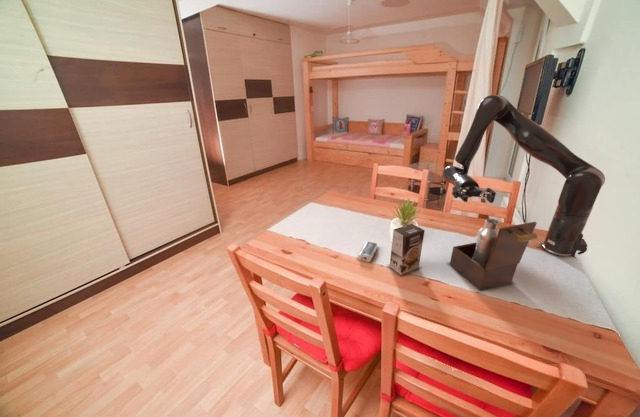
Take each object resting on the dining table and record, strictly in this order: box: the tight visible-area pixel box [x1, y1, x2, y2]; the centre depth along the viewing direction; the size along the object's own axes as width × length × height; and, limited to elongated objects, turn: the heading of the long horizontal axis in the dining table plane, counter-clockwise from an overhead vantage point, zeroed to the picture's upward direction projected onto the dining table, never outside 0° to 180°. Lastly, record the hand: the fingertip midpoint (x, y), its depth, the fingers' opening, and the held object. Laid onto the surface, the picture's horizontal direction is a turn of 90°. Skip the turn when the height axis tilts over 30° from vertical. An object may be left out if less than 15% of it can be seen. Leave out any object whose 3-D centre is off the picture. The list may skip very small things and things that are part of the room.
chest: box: [449, 242, 518, 291], centre depth 92 cm, size 15×13×8 cm
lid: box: [485, 221, 538, 270], centre depth 78 cm, size 15×13×5 cm
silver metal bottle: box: [472, 218, 500, 268], centre depth 89 cm, size 6×7×20 cm
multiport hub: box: [358, 241, 378, 263], centre depth 106 cm, size 4×11×2 cm, turn 154°
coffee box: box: [389, 223, 426, 276], centre depth 95 cm, size 9×6×16 cm
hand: (479, 200), depth 96 cm, fingers open, 8 cm apart
